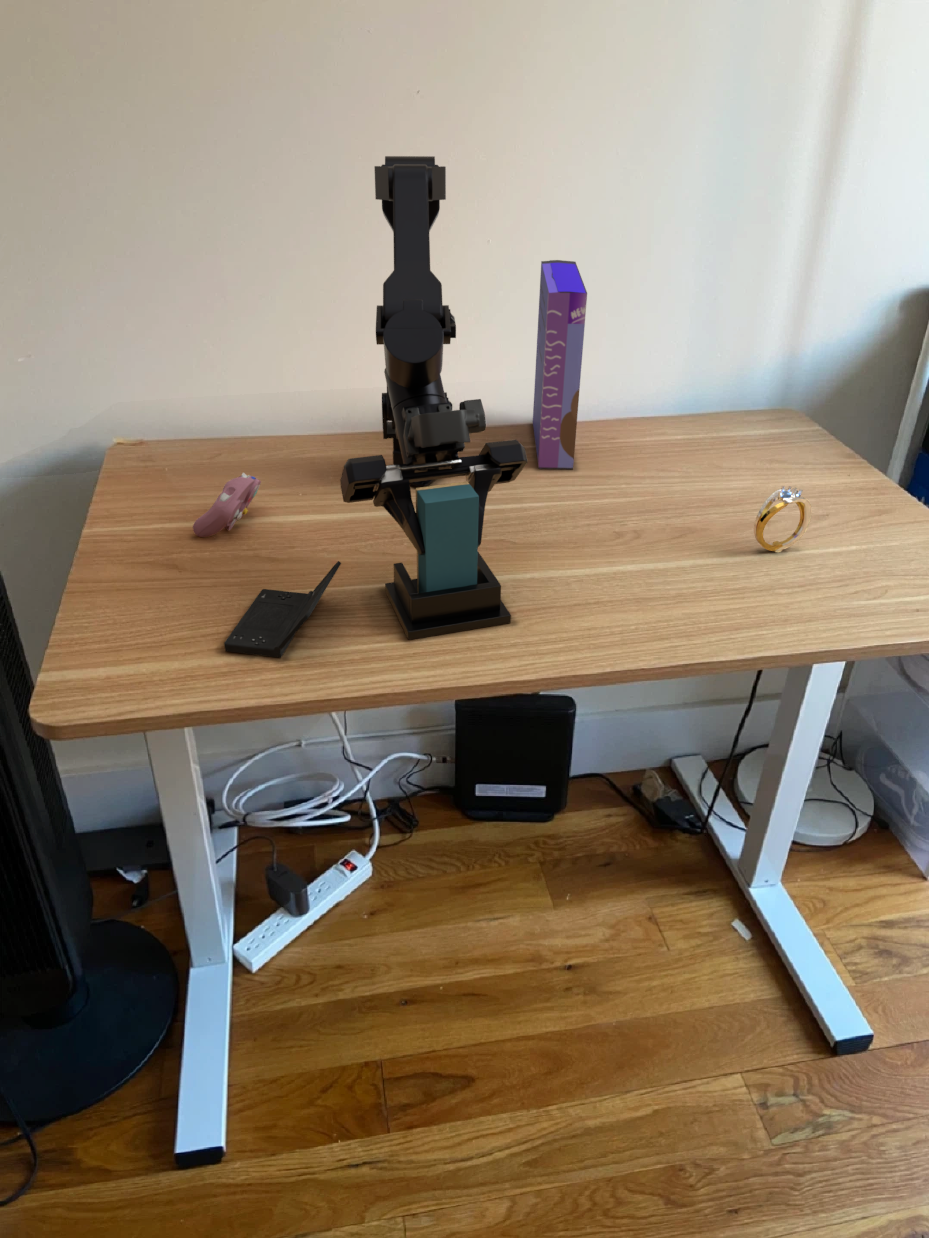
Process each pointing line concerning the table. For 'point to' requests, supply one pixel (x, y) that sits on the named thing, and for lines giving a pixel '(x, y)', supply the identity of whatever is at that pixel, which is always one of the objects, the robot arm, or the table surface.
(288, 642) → the handheld gaming console
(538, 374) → the cereal box
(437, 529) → the teal rectangular block
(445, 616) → the black square holder
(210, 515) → the video game controller
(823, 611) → the table surface
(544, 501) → the table surface
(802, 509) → the ring
